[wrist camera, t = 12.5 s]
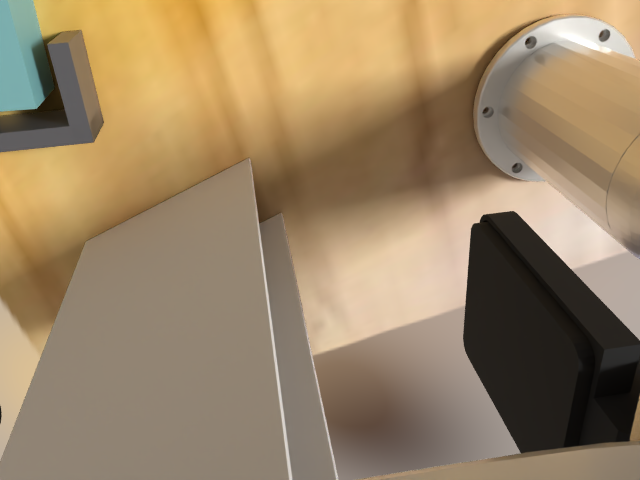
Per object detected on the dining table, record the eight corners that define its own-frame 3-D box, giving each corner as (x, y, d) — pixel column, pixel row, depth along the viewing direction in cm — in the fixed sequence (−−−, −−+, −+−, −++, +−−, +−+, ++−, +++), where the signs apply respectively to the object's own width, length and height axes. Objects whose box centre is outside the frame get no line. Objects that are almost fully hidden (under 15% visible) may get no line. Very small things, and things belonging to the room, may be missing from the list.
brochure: (126, 293, 49) (25, 732, 23) (84, 241, 46) (-85, 674, 20) (282, 215, 48) (361, 588, 22) (248, 157, 45) (292, 505, 19)
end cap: (81, 30, 39) (68, 42, 36) (103, 122, 42) (93, 142, 39) (-49, 41, 38) (-76, 55, 35) (-16, 134, 41) (-38, 156, 38)
